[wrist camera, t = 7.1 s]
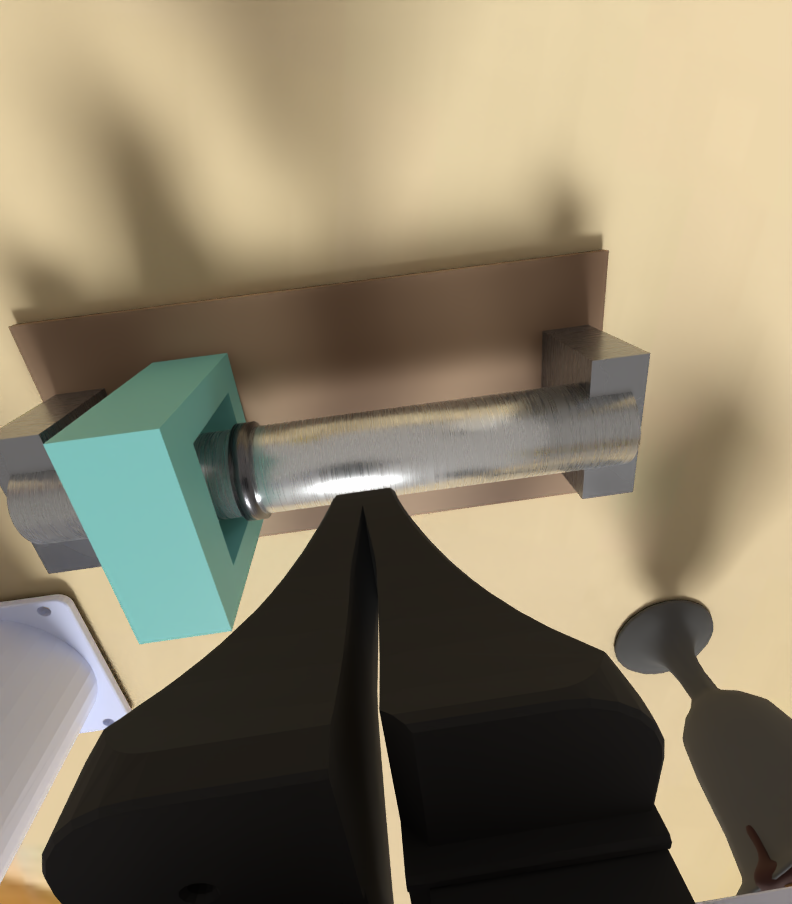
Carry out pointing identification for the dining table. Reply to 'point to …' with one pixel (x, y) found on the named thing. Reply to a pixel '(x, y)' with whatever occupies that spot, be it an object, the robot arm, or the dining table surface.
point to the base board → (347, 351)
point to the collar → (160, 498)
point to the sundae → (724, 741)
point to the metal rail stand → (372, 446)
